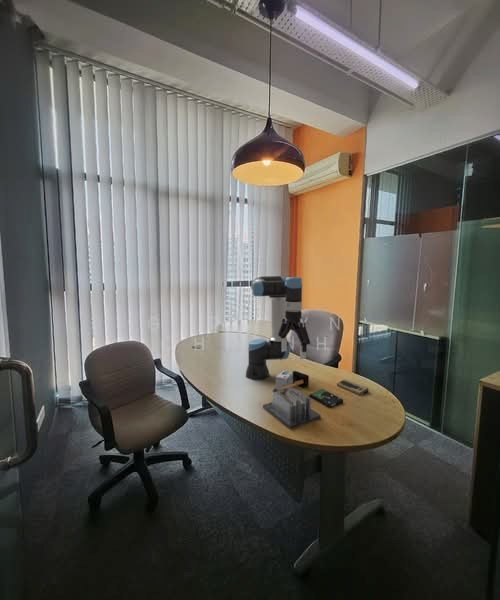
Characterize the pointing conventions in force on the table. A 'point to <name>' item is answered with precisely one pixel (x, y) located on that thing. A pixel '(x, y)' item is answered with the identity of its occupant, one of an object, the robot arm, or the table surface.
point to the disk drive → (326, 398)
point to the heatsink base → (291, 422)
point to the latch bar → (291, 385)
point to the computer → (352, 387)
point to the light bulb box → (284, 380)
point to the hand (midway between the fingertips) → (293, 354)
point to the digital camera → (301, 376)
